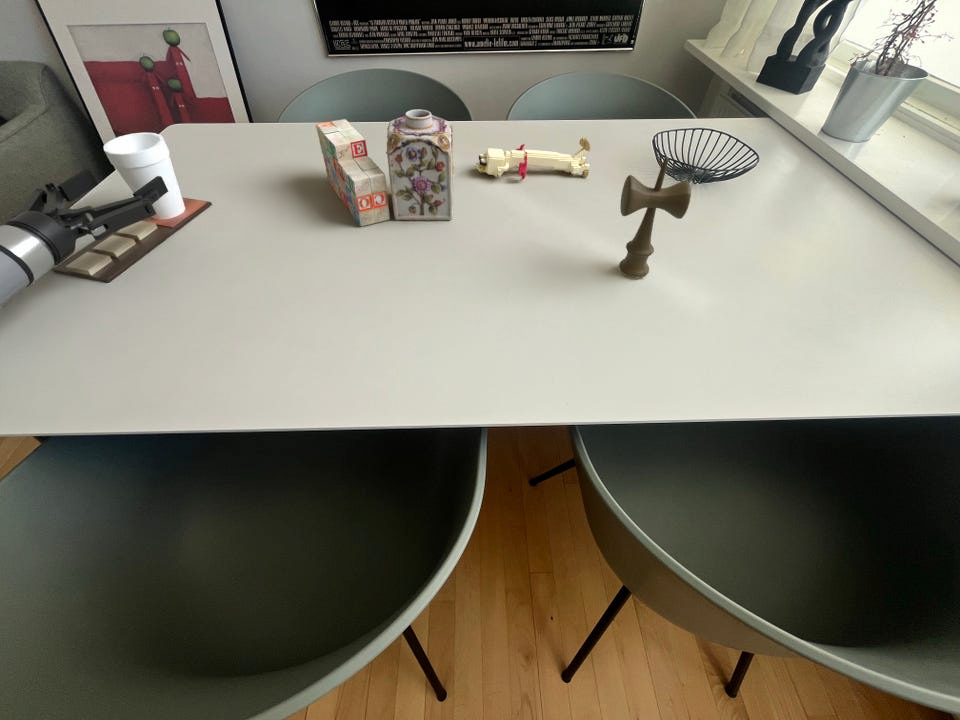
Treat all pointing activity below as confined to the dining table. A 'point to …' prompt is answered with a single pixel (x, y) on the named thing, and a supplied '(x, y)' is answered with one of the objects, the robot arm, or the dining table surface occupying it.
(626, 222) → the dining table surface
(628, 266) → the kendama
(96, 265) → the word board
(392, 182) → the decorative jar
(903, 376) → the dining table surface
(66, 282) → the dining table surface
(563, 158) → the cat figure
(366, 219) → the stack of blocks
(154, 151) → the foam cup
